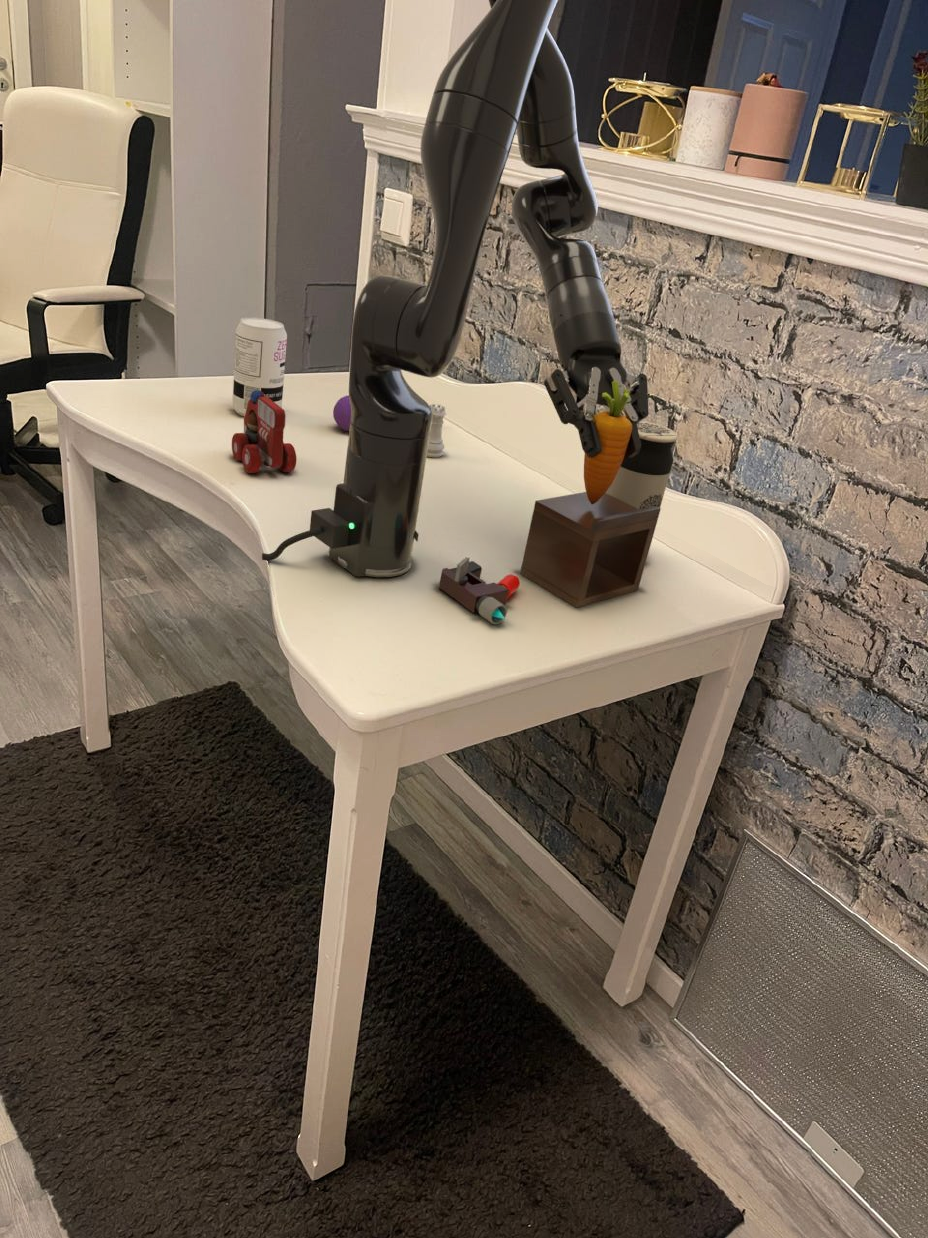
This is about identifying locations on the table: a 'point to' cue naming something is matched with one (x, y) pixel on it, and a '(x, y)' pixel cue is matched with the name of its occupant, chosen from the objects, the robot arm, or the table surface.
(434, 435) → the rook chess piece
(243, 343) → the supplement can
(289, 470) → the toy fire truck
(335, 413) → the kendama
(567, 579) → the shelf
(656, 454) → the travel mug
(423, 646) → the table surface
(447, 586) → the toy gun
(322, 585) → the table surface
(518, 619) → the table surface
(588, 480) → the carrot
